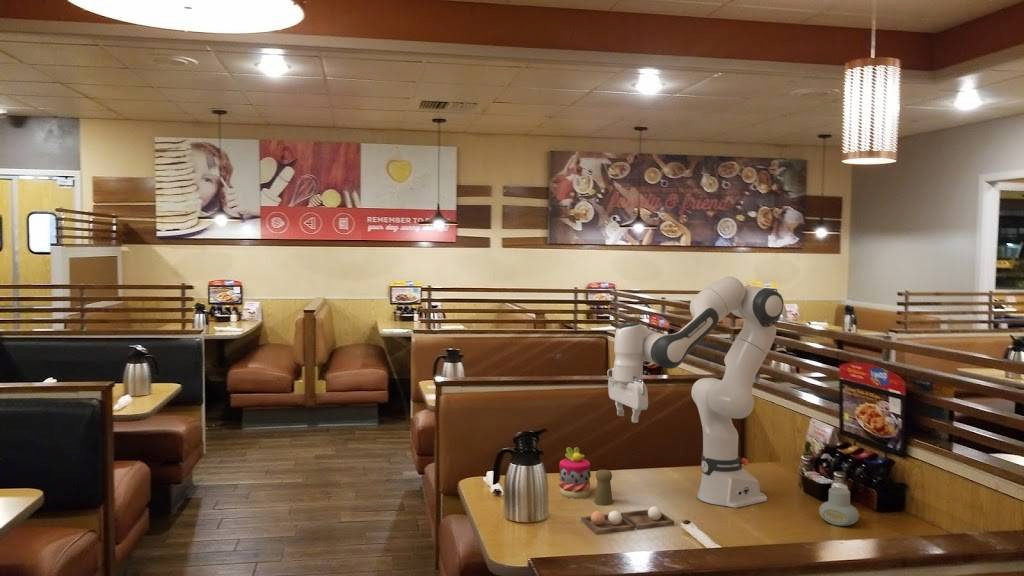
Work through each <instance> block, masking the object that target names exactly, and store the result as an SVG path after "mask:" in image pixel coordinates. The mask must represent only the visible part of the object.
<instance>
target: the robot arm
mask: <svg viewBox="0 0 1024 576" xmlns="http://www.w3.org/2000/svg"><path fill="white" fill-rule="evenodd" d="M784 305H785V303H784V298H783V296H782V295H781V294H780V293H779V292H778V291H776V290H774V289H772V288H767V287H766V288H765V287H762V286H757V285H756V286H755V285H752V286H751V285H748V286H747V285H746V286H745V285H744V283H742V281H740V280H739V279H738V278H737V277H734V276H725V277H723V278H721V279H719V280H716V281H715V282H713V283H711V284H710V285H708V286H706V287H705V288H703V289H701V291H699V292H698V293H697V294H695V296H694V297H693V298H692V299H691V300H690V304H689V311H690V312H689V313H690V314H691V317H692V319H691V320H690V321H689V322H687V324H686V325H684V326H683V327H682V328H681V329H680V330H679V331H677V332H674V333H669V334H665V333H660V332H656V331H654V330H652V329H649V328H647V327H645V326H644V324H642V323H641V322H640V321H639V322H638V321H628V322H627V321H626V322H622V323H619V325H618V326H617V327H616V329H615V334H614V343H613V344H614V345H613V349H614V350H613V351H614V357H615V358H614V362H613V367H611V368H609V369H608V370H607V372H606V373H607V377H608V382H607V387H608V397H609V399H611V400H612V401H615V402H614V403H615V404H614V405H615V407H616V415H617V416H619V417H624V416H625V410H624V406H623V405H625V406H627V407H630V408H631V410H632V415H631V416H630V421H631V423H633V424H635V423H639V416H640V415H641V412H642V411H645V410H648V407H649V395H648V394H649V393H648V386H647V385H646V384H645V382H644V380H643V378H644V374H643V371H644V369H643V368H644V362H648V363H650V364H653V365H657V366H660V367H662V368H663V369H668V370H671V369H675V368H678V367H679V366H680V365H681V364H682V363H683V361H685V359H686V357H687V355H688V354H689V352H690V351H692V349H693V348H694V347H696V345H697V344H698V343H700V342H701V341H702V340H703V339H704V338H706V336H707V335H708V334H709V333H711V332H712V331H713V330H714V328H715V327H717V324H718V323H719V322H720V321H722V320H723V319H724V318H725V317H727V316H728V315H729V314H730V315H731V316H734V317H736V318H740V319H743V326H742V329H741V330H740V332H739V333H738V335H737V336H736V338H735V339H734V341H733V343H732V344H731V346H730V348H729V350H728V352H727V353H726V355H725V356H724V358H723V359H724V361H723V362H724V365H725V370H724V375H723V378H722V379H719V378H716V377H702V378H700V379H697V380H696V381H695V382H694V383H693V385H692V386H691V392H690V393H691V398H692V400H693V402H694V404H695V405H696V407H697V410H698V413H699V418H700V422H701V426H702V427H701V428H702V454H701V463H700V465H701V466H700V467H701V479H700V483H699V489H698V491H697V495H696V497H697V499H699V500H700V501H703V502H704V503H707V504H710V505H711V504H712V505H715V506H726V507H729V508H734V509H735V508H742V507H746V506H750V505H751V506H752V505H754V504H759V503H763V502H768V497H767V496H766V495H765V493H763V492H761V491H760V490H761V489H760V483H759V481H758V479H757V478H755V476H753V475H752V474H751V473H749V472H748V471H747V470H746V469H745V468H744V467H743V465H744V466H748V465H749V463H750V461H749V459H747V458H745V457H740V456H739V432H738V430H737V429H736V427H735V426H734V424H733V420H732V419H738V420H739V419H740V420H741V419H745V418H747V417H748V416H750V414H751V413H752V412H753V409H754V408H755V407H754V406H755V399H754V396H753V387H754V382H755V378H756V376H757V374H758V371H759V370H760V368H761V366H762V364H763V362H764V361H765V359H766V357H767V355H768V354H769V351H770V350H771V348H772V346H773V343H774V340H775V339H776V338H775V337H776V334H777V327H776V324H777V323H778V322H779V319H780V318H781V316H782V313H783V310H784Z"/></svg>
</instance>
